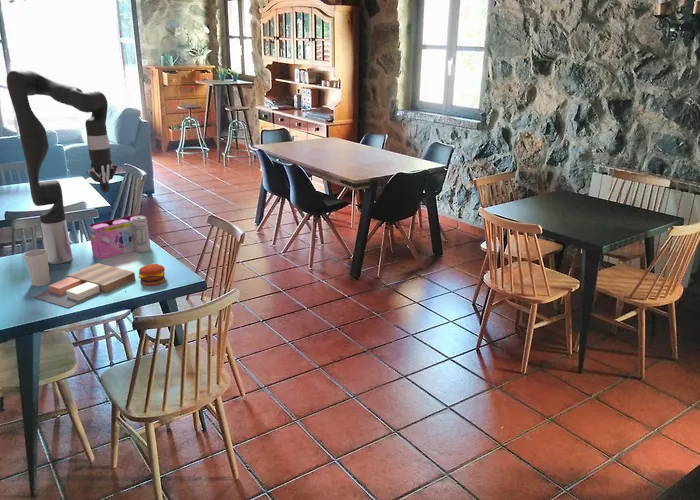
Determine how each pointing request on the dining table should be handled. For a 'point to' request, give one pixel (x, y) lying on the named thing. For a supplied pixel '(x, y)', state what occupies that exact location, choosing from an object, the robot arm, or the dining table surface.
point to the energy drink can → (141, 234)
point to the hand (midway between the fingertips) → (105, 191)
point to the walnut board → (104, 276)
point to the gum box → (112, 237)
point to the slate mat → (62, 298)
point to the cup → (37, 266)
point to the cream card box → (83, 291)
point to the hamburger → (152, 274)
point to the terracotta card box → (64, 285)
